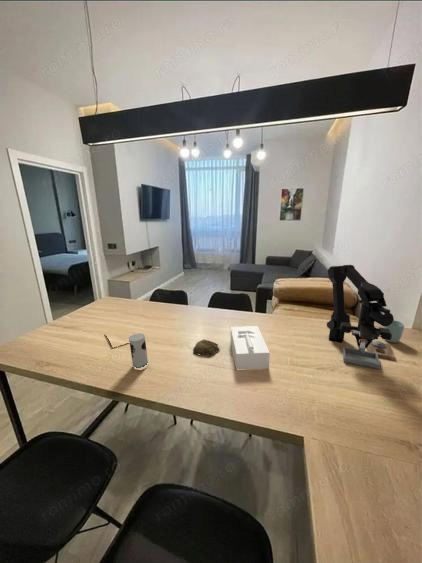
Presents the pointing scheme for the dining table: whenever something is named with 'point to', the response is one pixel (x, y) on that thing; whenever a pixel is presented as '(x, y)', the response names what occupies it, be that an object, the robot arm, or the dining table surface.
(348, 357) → the tray
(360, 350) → the lock pin
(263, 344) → the white rectangular block
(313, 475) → the dining table surface
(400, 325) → the cup
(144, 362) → the grey cylinder
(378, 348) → the block
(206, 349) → the dark brown rock
